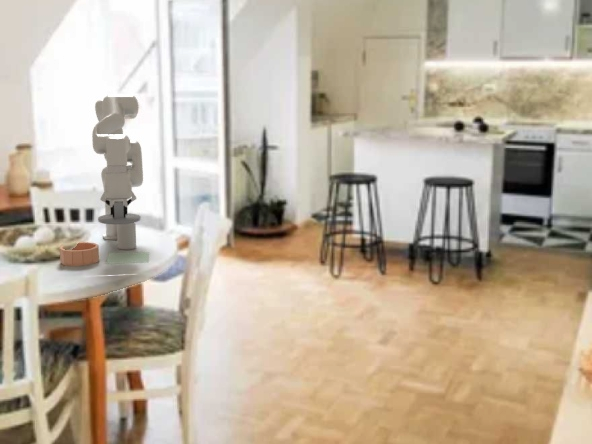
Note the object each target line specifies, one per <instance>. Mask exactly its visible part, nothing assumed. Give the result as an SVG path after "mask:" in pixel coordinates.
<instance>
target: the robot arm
mask: <svg viewBox="0 0 592 444" xmlns="http://www.w3.org/2000/svg"><path fill="white" fill-rule="evenodd" d="M94 110H95V114H96V118H97V120H98V121H97V123H96V124H95V126H94V127H93V128H92V129H93V130H92V134H91V135H92V138H91V139H92V148H93V151H94V152H95V153H96V154H99V155H103V156H104V159H105V161H106V166H105V167H103V168H102V170H101V175H100V176H101V181H102V187H103V193H102V195H101V196H100V199H99V200H100V201H101V202H103V203H104V213H105V214H104V215H107V214H111V215H113V218H114V201H123V202H124V217H126V215H127V213H129V212H128V207H129V205H130V204H131V203H132V202H134V201H136V200H137V196H136V195H135V193H134V192H133V188H137V187H141V186H142V185H143V183H144V171H143V154H142V147H141V144H140V142H139V141H137V140H131V139H130V137H129V136H128V135H126V134H124V130H123V127H124V126H125V124H126V123H125V119H126V120H127V119H128V120H130V119H131V120H132V119H136V117H137V115H138V113H139V102H138V98H136V96H135V95H132V94H109V95H107V96H105V97H104V98H103V99H99V100H97V101H96V102H95V105H94ZM128 163H130V164H131V165H129V164H128ZM102 238H103V239H104V240H110V241H118V240H117V224H105V233H103V234H102Z"/></svg>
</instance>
